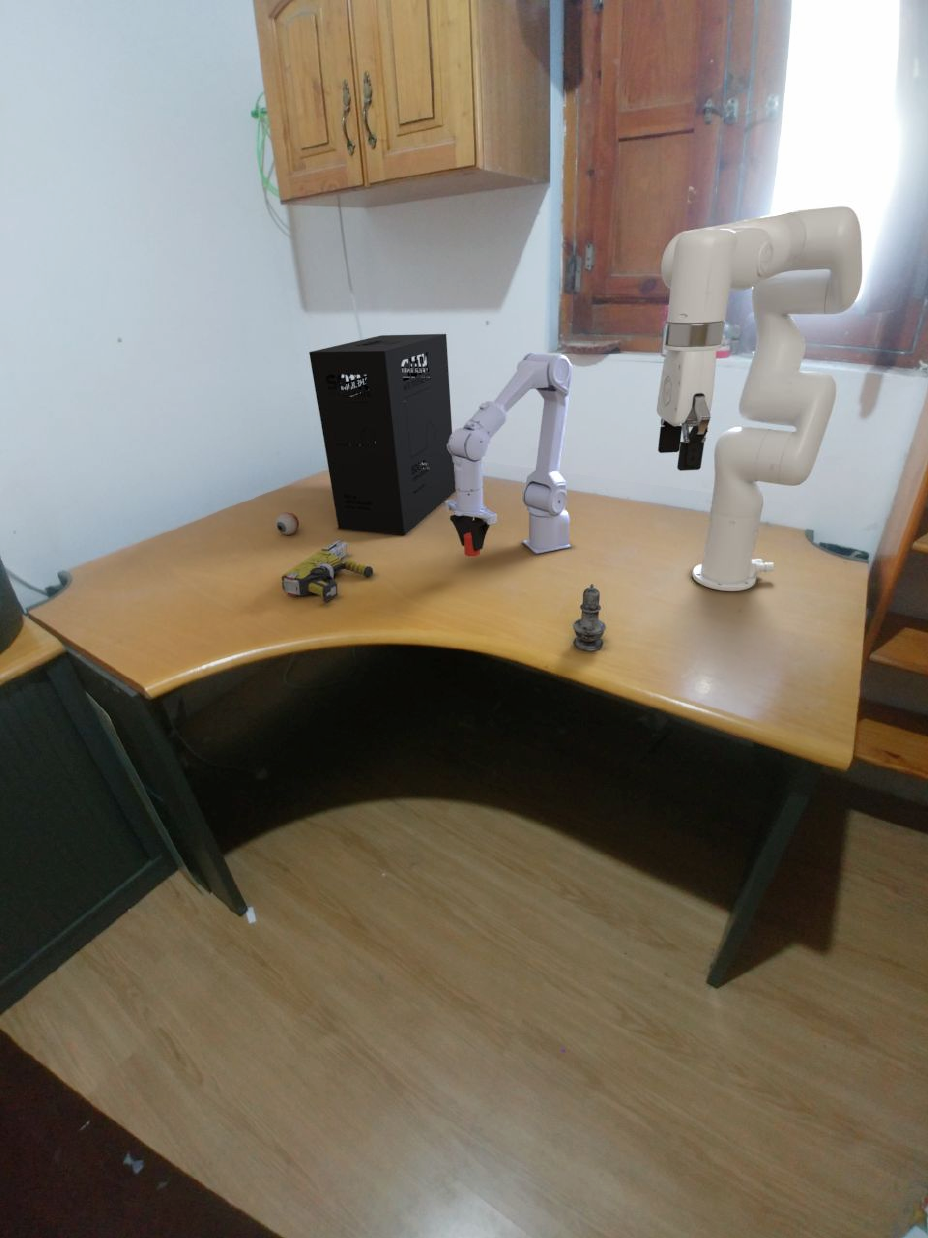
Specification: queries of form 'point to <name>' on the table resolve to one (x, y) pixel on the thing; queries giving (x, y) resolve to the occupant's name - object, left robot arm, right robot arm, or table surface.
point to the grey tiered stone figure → (589, 622)
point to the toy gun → (321, 572)
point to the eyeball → (287, 523)
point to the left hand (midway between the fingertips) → (472, 547)
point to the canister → (469, 546)
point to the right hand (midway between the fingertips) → (678, 460)
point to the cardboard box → (386, 429)
